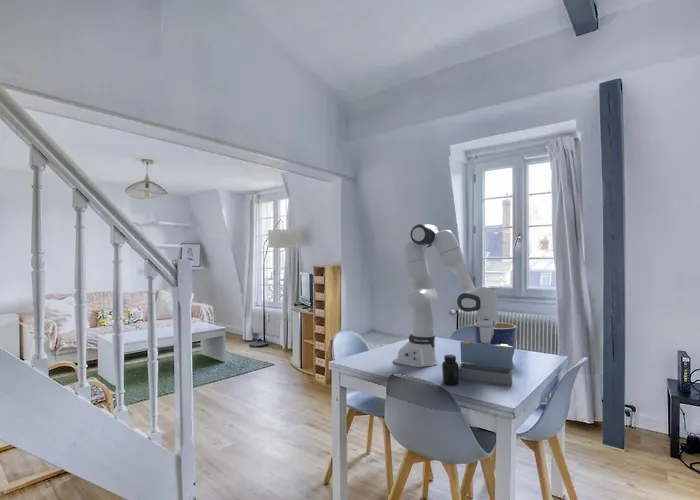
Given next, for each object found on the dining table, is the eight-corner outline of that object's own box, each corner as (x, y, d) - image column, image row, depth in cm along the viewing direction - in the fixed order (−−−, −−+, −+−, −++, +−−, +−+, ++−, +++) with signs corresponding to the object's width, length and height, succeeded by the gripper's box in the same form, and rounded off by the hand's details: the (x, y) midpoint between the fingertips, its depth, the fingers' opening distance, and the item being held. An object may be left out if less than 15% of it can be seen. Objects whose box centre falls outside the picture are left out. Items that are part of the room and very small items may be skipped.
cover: (459, 341, 180) (460, 339, 182) (460, 364, 182) (461, 361, 184) (511, 346, 170) (512, 344, 173) (512, 370, 172) (512, 367, 174)
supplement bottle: (455, 380, 173) (455, 353, 173) (460, 386, 166) (460, 357, 166) (440, 381, 172) (440, 353, 173) (444, 386, 166) (444, 358, 166)
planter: (520, 368, 191) (520, 329, 191) (476, 366, 195) (476, 327, 195) (511, 357, 211) (511, 322, 211) (472, 355, 215) (471, 320, 215)
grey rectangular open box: (457, 379, 174) (457, 368, 174) (461, 373, 183) (461, 362, 183) (510, 386, 165) (510, 375, 165) (512, 379, 174) (512, 368, 174)
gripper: (483, 316, 195) (483, 343, 195) (477, 322, 177) (477, 353, 176) (496, 317, 192) (496, 345, 192) (492, 323, 174) (492, 355, 174)
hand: (487, 349), depth 184 cm, fingers closed
